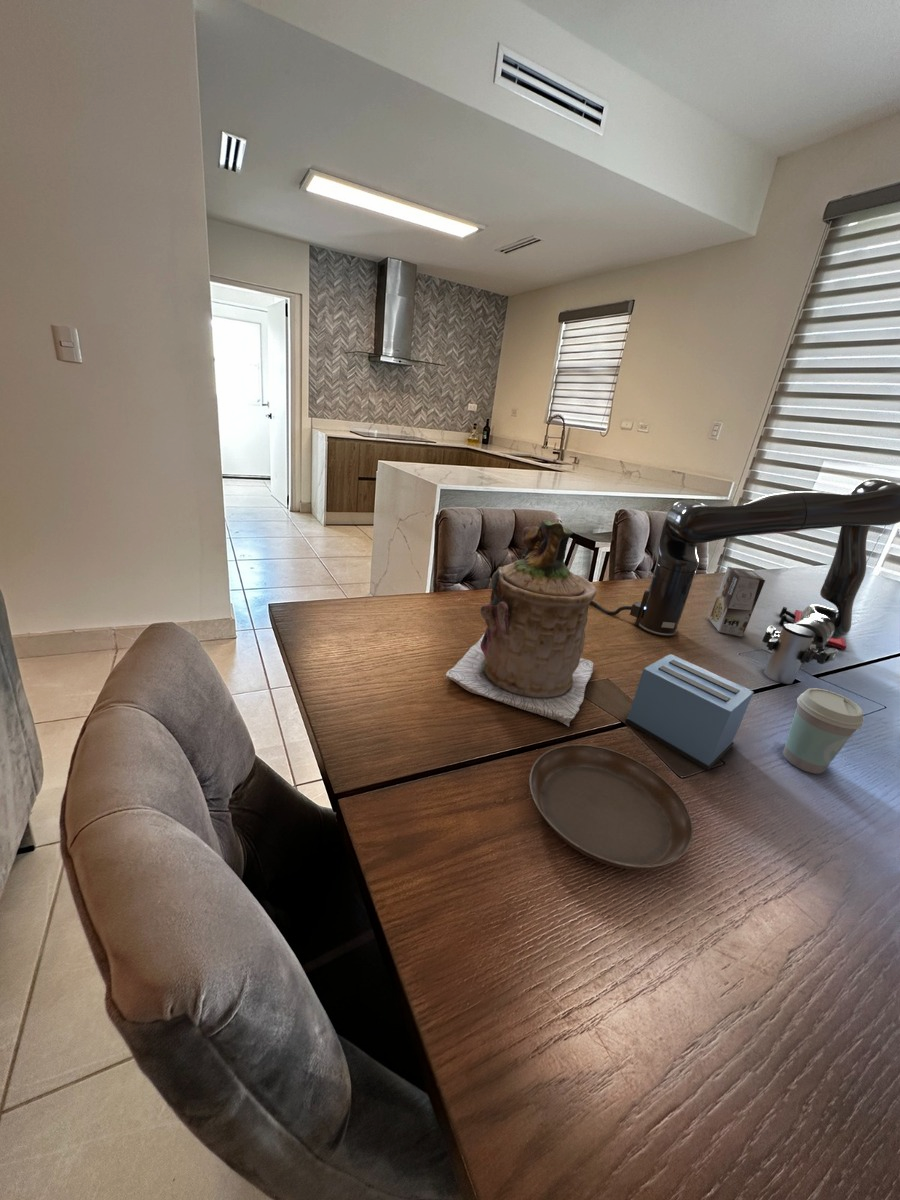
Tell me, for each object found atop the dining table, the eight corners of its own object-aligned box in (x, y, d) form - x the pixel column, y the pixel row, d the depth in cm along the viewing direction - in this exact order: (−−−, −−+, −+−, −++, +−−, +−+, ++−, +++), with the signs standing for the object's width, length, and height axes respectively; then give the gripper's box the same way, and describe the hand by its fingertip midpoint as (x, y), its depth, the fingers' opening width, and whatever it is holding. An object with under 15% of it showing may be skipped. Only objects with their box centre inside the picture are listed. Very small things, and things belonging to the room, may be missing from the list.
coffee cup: (817, 786, 73) (851, 723, 68) (763, 750, 80) (790, 691, 75) (844, 772, 77) (878, 711, 72) (790, 739, 84) (818, 682, 79)
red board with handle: (777, 639, 125) (846, 661, 117) (782, 629, 124) (851, 651, 116) (779, 609, 148) (837, 626, 141) (783, 601, 147) (841, 618, 140)
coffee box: (743, 637, 124) (766, 580, 118) (718, 632, 125) (739, 575, 119) (732, 623, 133) (752, 569, 126) (708, 619, 133) (727, 565, 127)
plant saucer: (522, 749, 73) (526, 732, 72) (657, 771, 72) (663, 754, 71) (529, 869, 54) (534, 848, 53) (712, 902, 53) (722, 881, 52)
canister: (759, 674, 105) (780, 626, 101) (768, 667, 109) (788, 621, 105) (789, 687, 102) (811, 638, 97) (796, 679, 105) (818, 631, 101)
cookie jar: (595, 669, 99) (635, 520, 87) (572, 732, 78) (620, 549, 66) (486, 635, 108) (509, 496, 96) (439, 684, 87) (461, 514, 75)
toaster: (624, 721, 83) (641, 667, 79) (655, 701, 90) (672, 650, 86) (707, 771, 73) (732, 712, 69) (734, 744, 81) (758, 689, 76)
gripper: (780, 609, 115) (757, 623, 104) (852, 633, 106) (834, 652, 95) (768, 636, 118) (745, 653, 107) (837, 662, 108) (819, 683, 98)
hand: (787, 652), depth 101 cm, fingers closed on canister, 5 cm apart
